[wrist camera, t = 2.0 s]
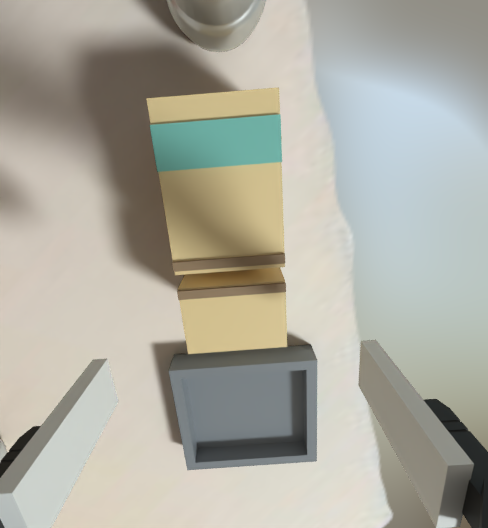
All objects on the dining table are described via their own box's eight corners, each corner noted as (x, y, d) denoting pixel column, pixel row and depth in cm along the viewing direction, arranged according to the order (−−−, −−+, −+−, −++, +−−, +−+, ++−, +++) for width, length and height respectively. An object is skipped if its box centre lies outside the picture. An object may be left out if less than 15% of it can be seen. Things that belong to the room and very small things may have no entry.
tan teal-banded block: (177, 120, 23) (145, 97, 15) (265, 113, 23) (279, 86, 15) (194, 251, 26) (176, 287, 19) (271, 245, 26) (285, 279, 19)
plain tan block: (195, 253, 27) (177, 290, 19) (271, 248, 26) (285, 282, 19) (201, 303, 28) (187, 355, 20) (274, 297, 28) (287, 348, 20)
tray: (174, 354, 30) (168, 370, 28) (310, 344, 30) (317, 360, 27) (191, 448, 34) (187, 470, 32) (311, 440, 34) (316, 461, 32)
